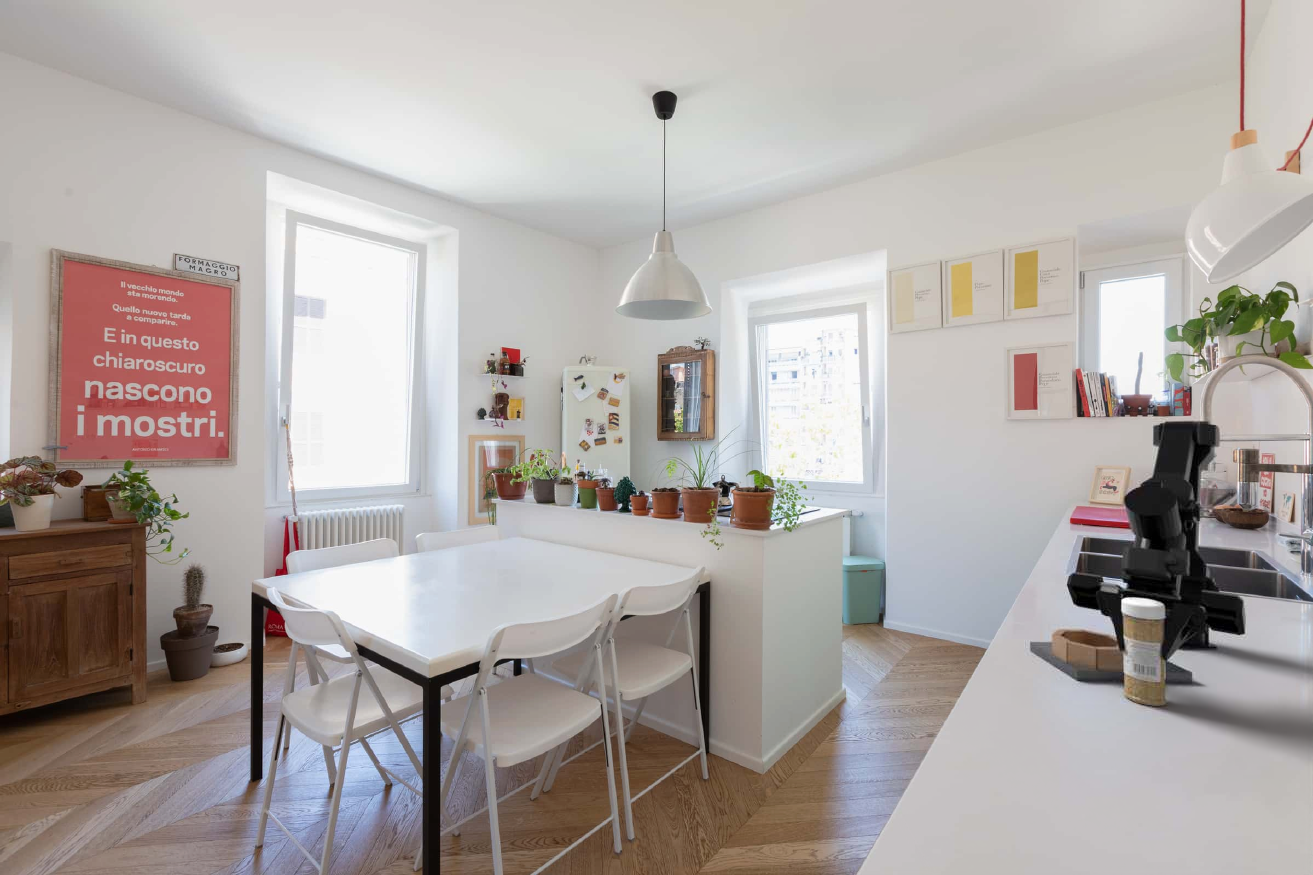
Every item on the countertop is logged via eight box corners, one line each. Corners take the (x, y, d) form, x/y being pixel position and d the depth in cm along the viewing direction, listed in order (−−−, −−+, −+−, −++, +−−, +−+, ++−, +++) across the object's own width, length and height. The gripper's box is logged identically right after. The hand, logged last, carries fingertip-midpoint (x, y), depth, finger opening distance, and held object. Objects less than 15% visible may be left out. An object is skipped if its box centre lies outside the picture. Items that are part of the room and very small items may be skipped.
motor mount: (1130, 652, 97) (1130, 625, 97) (1192, 682, 85) (1192, 651, 85) (1030, 650, 98) (1029, 623, 98) (1076, 680, 86) (1076, 649, 86)
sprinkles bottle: (1171, 701, 79) (1170, 601, 79) (1159, 710, 76) (1158, 607, 76) (1130, 689, 83) (1128, 594, 83) (1117, 697, 80) (1115, 599, 80)
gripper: (1069, 518, 89) (1048, 605, 82) (1243, 533, 75) (1235, 639, 68) (1084, 562, 94) (1064, 647, 87) (1248, 583, 80) (1242, 687, 73)
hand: (1142, 653), depth 78 cm, fingers closed on sprinkles bottle, 4 cm apart
